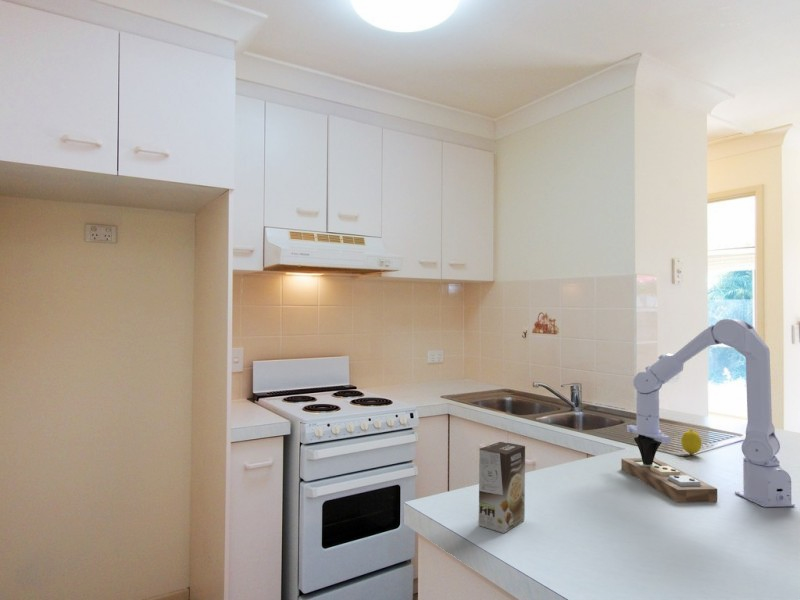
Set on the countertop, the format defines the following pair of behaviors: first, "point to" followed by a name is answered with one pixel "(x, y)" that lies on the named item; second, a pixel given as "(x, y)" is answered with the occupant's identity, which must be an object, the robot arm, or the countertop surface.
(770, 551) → the countertop surface
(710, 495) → the frame
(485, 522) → the coffee box
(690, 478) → the button two
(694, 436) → the lemon
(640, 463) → the button one
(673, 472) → the button three
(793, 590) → the countertop surface
